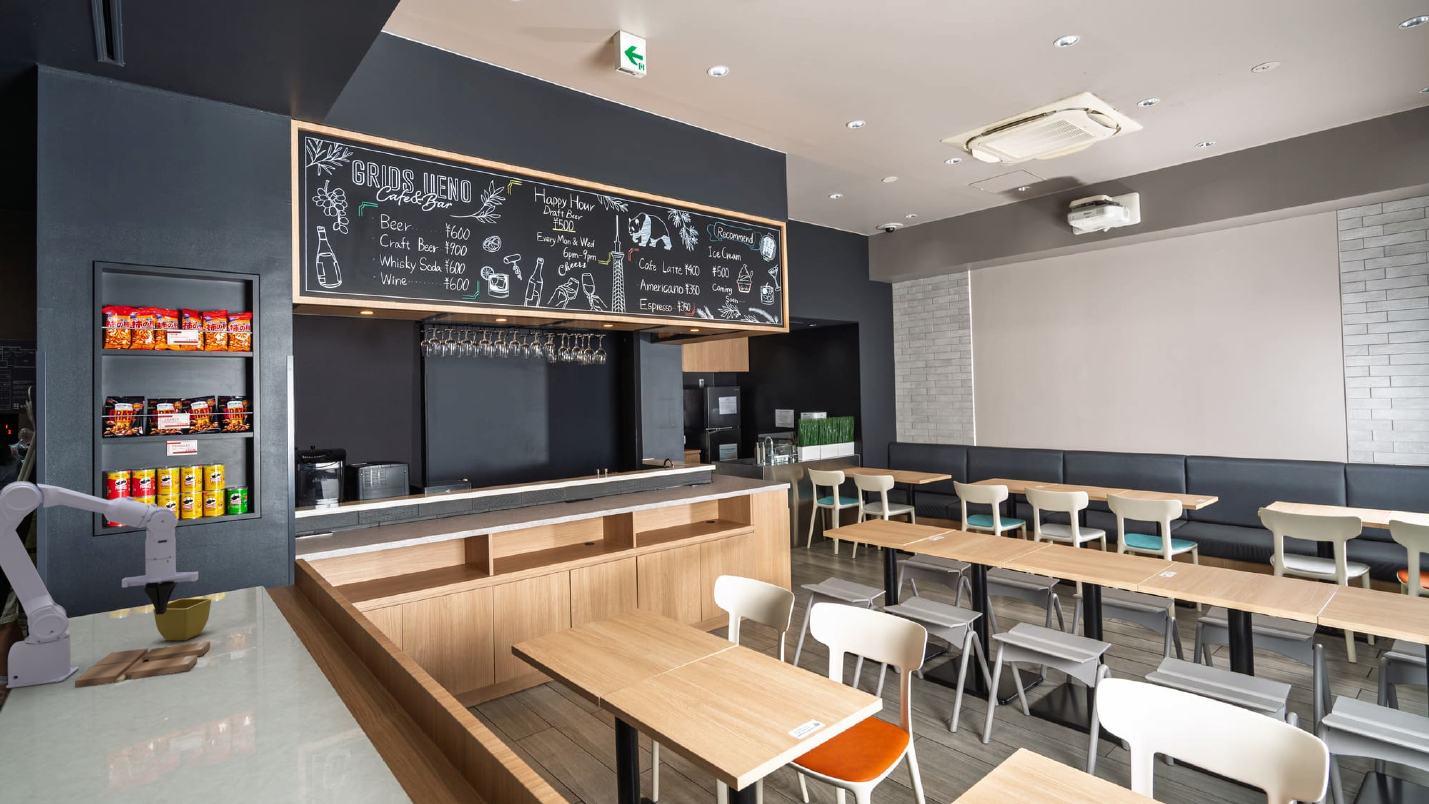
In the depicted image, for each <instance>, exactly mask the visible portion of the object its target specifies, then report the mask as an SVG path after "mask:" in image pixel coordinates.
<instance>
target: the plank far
mask: <svg viewBox="0 0 1429 804" xmlns="http://www.w3.org/2000/svg"><path fill="white" fill-rule="evenodd" d="M210 649H211V641H204V642H203V641H202V642H195V643H188V644H181V645H171V646H165V647H164V646H163V647H156V648H151V649H150V650H148V653H147V654H145V655H144V656H143V657H142V660H146V659H147V660H146V661H147V662H150V661H157V660H164V659H172V658H179V657H186V656H194V655H197V657H203V656H204V655H205V654H206V653H207V652H208V651H209V650H210ZM205 652H206V653H205ZM203 654H204V655H203Z"/></svg>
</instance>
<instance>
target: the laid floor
mask: <svg viewBox="0 0 1429 804" xmlns="http://www.w3.org/2000/svg"><path fill="white" fill-rule="evenodd" d="M148 652H149V648H148V647H146V648H140V649H139V648H138V649H132V650H131V649H130V650H121V651H115V652H110V653H109V654H108V655H106V656H105V657H104V658H103V659H100V661H98V662H97V663H95V665H93V666H92V667H91V668H89V669H88V670H87V671H86V672H84V673H83V674H82V675H80V676H79V677H78V678H77V679H75V680H74V688H75V689H76V688H78V689H79V688H84V687H92V685H93V686H99V685H98V684H100V685H107V684H106V683H108V684H113V683H112V682H116V683H120V682H119V681H123V682H124V681H125V680H126V679H127V678H129V677H130V676H129V675H126V676H124V673H125V672H126V671H127V670H128V669H129V668H130V667H132V666H133V665H134V664H135V663H143V662H144V661H145V662H147V661H148V659H146V660H142V657H143V656H144V655H145V654H147V653H148ZM128 676H129V677H128Z"/></svg>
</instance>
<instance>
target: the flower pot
mask: <svg viewBox="0 0 1429 804" xmlns="http://www.w3.org/2000/svg"><path fill="white" fill-rule="evenodd" d="M211 602H212V598H178V599H176V600H174V601H170V602H168V605H167V610H166V612H165V613H164V614H159V615H156V611H155V608H153V609H152V610H153V615H154V621H155V625H156V627H157V628H156V629H157V631H158V632H159V634H160V635H161V636H162V638H164V640H165V641H170V640H171V641H183V640H184V641H187V640H190V639H192V638H193V637H196V636H198V635H200V634H201V633H202V631H203V630H204V628H205V626H206V625H207V623H208V622H209V621H208V620H209V617H210V613H211V612H210V611H211V604H212V603H211Z"/></svg>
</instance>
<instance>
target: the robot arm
mask: <svg viewBox="0 0 1429 804" xmlns="http://www.w3.org/2000/svg"><path fill="white" fill-rule="evenodd" d="M36 485H37V486H36ZM40 505H41V506H42V508H43V509H45V508H49V507H55V506H56V507H57V506H65V507H69V508H70V507H71V508H76V509H80V510H84V511H89V512H94V513H98V514H102V515H104V517H105V519H106V520H107V521H108V522H112V523H115V524H116V523H117V524H120V525H125V526H129V527H133V528H139V529H140V528H146V529H145V530H146V532H145V533H146V539H145V541H144V545H145V552H144V553H145V574H143V575H137V576H129V577H124V578H123V579H121V588H129V587H137V586H145V587H144V589H143V590H144V592H145V593H146V595H147V596H148V597H149V599H150V601H151V603H152V606H153V607H154V608H155V611H156V615H159V614H164V613H165V612H166V610H167V605H168V603H170V602H169V601H170V598H171V596H172V593H173V592H174V590H175V588H176V586H177V584H178V583H184V582H196V581H198V580H199V571H186V572H184V571H183V572H181V571H180V572H177V568H176V567H177V565H176V564H177V563H176V562H177V560H176V557H177V555H176V553H177V552H176V547H177V546H176V540H177V539H176V538H177V537H176V535H175V534H176V529H175V528H176V527H177V525H178V523H179V519H178V517H177V515H176V514H175V512H174V511H172V510H170V509H168V508H167V507H164V506H159V505H158V504H157V503H151V504H149V503H145V502H140V501H137V500H134V497H132V496H129V495H128V496H126V497H122V496H121V497H117V498H114V499H111V500H108V499H105V498H101V497H98V496H94V495H91V494H87V493H83V492H79V491H76V490H72V489H68V488H64V487H62V486H61V487H60V486H56V485H49V484H45V483H44V484H43V483H36V484H34V483H32V482H30V481H24V480H23V481H22V480H21V481H18V480H17V481H14V482H11V483H8V484H7V485H5V486H4V487H3V488H2V489H1V490H0V567H1V569H2V571H3V572H4V574H5V576H6V578H7V580H8V581H9V583H10V586H11V587H12V589H13V591H14V593H15V594H16V596H17V599H18V600H19V602H20V603H21V606H22V608H23V611H24V614H25V616H26V617H27V620H26V622H27V626H28V633H29V635H28V636H27V637H25V639H24V640H21V641H16V642H15V643H13V644H12V646H11V647H10V650H9V652H8V657H7V677H8V678H7V681H8V682H7V683H8V684H7V685H6V689H10V688H12V689H13V688H18V687H19V688H20V687H27V686H28V687H29V686H34V685H42V684H52V683H58V682H63V681H64V680H66V679H67V678H68V677H70V676H72V675H73V674H74V673H75V672H77V671H78V670H79V669H80V667H79V666H73V667H72V666H71V660H72V659H71V631H70V630H68V628H69V624H70V621H69V618H68V617H67V611H66V609H65V608H64V607H63V606H62V605H60V604H57V603H56V602H55V601H54V600H53V598H52V595H51V594H50V593H49V591H48V589H47V587H46V585H45V583H44V582H43V580H42V578H41V576H40V574H39V573H38V570H37V568H36V567H35V564H34V563H33V561H32V559H31V557H30V555H29V554H28V551H27V549H26V548H25V545H24V544H23V541H22V540H21V538H20V537H19V534H18V533H17V528H18V526H19V525H20V524H21V523H22V521H23V520H24V518H25V517H26V516H28V515H29V514H30V513H31V512H33V511H34V510H35V509H36V508H38V507H39V506H40ZM154 608H153V609H154Z"/></svg>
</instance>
